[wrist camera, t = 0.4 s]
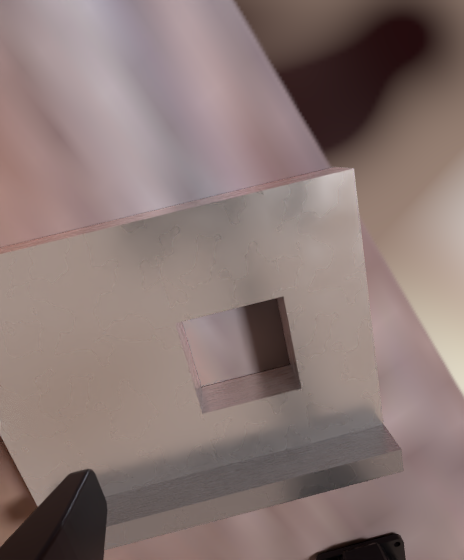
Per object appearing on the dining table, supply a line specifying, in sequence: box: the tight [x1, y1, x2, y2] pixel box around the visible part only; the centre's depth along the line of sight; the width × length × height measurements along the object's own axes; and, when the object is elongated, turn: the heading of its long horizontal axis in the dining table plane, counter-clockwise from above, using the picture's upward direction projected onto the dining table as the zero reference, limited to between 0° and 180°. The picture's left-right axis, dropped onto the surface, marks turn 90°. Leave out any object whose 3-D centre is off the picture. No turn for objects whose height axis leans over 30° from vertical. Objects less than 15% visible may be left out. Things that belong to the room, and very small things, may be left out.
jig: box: [0, 167, 403, 550], centre depth 20 cm, size 16×20×4 cm
